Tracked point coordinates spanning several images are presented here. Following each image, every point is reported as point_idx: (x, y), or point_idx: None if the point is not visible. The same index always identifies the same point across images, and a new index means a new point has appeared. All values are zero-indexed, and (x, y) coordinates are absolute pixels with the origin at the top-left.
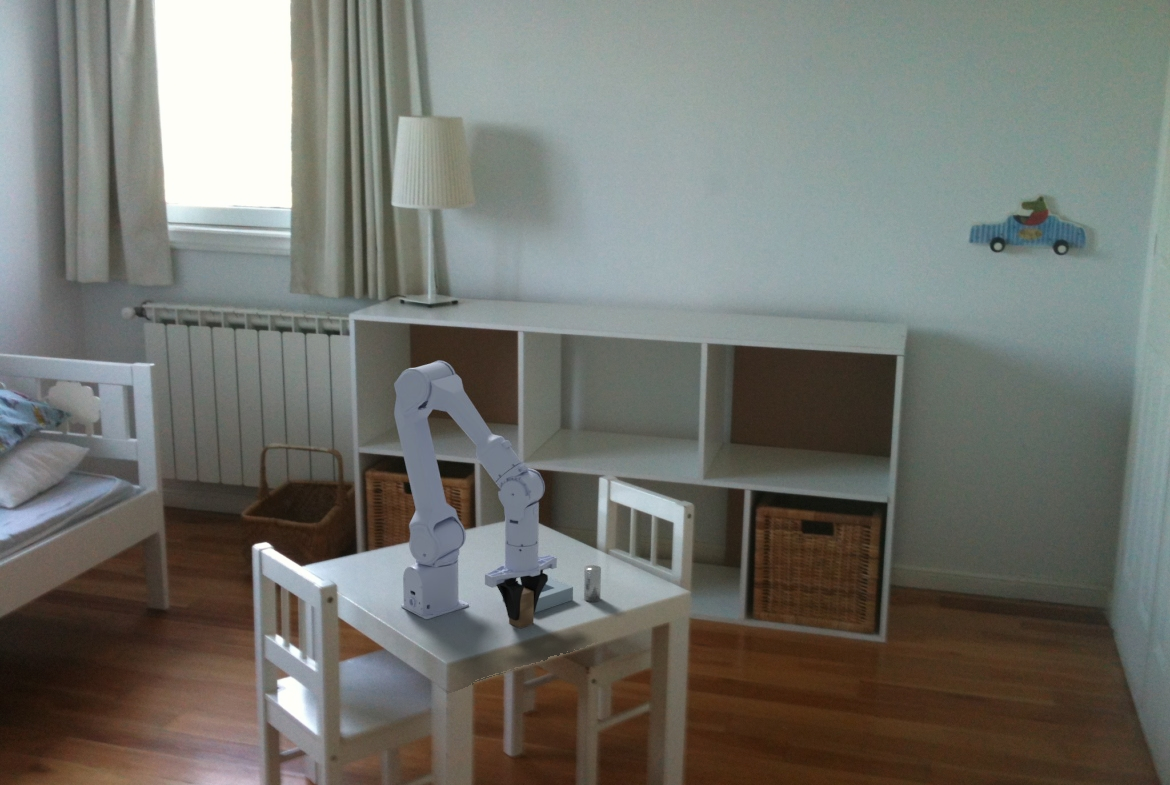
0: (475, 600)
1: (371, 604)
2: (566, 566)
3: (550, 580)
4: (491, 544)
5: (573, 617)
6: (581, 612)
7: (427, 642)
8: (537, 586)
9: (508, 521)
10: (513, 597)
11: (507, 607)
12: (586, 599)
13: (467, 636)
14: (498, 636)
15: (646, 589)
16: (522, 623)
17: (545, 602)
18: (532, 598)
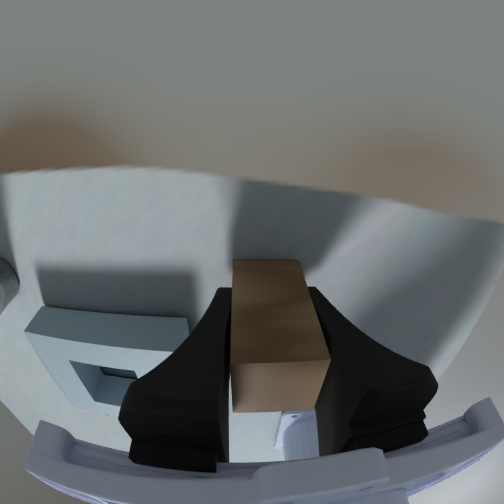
0: (246, 419)
1: None
2: (26, 393)
3: (67, 387)
4: None
5: (80, 219)
6: (46, 234)
7: (467, 324)
8: (220, 376)
9: None
10: (388, 350)
11: None
12: (13, 280)
13: (418, 308)
14: (380, 262)
15: None
16: (290, 268)
17: (122, 330)
18: (239, 333)
